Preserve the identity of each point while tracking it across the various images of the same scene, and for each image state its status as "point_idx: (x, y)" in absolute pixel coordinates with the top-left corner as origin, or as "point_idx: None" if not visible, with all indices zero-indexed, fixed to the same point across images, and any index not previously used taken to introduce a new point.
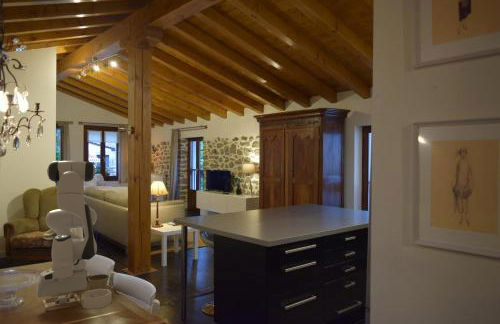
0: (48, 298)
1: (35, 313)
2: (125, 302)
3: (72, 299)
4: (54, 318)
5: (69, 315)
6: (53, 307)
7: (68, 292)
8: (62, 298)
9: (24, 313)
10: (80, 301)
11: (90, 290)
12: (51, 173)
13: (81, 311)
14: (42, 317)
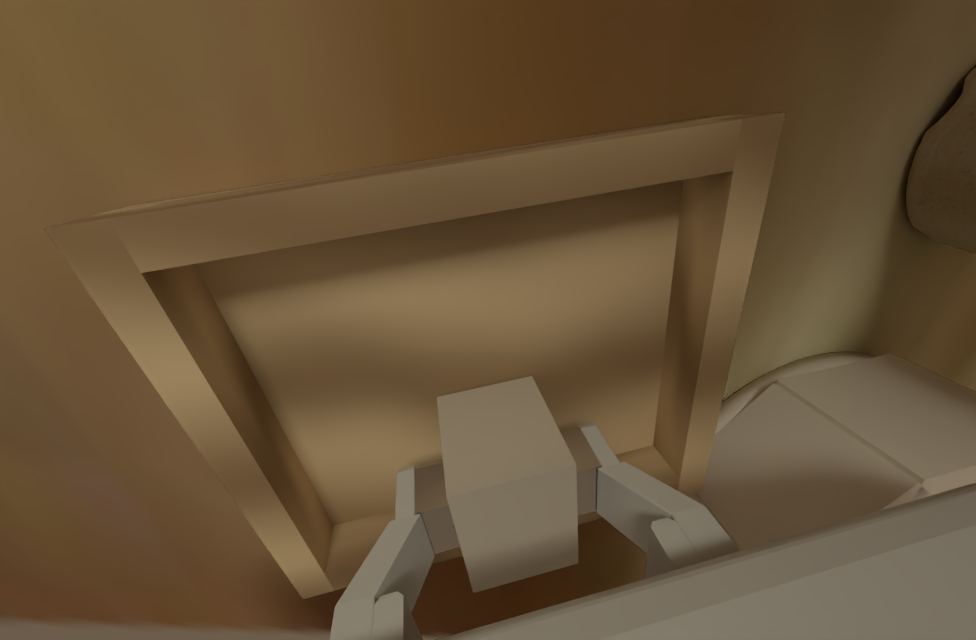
0: (215, 229)
1: (192, 526)
2: None
3: (645, 260)
4: (425, 625)
5: (536, 595)
6: None
7: (654, 539)
8: (519, 569)
9: (9, 504)
10: (693, 487)
11: (952, 479)
12: None
13: (630, 551)
14: (315, 606)
